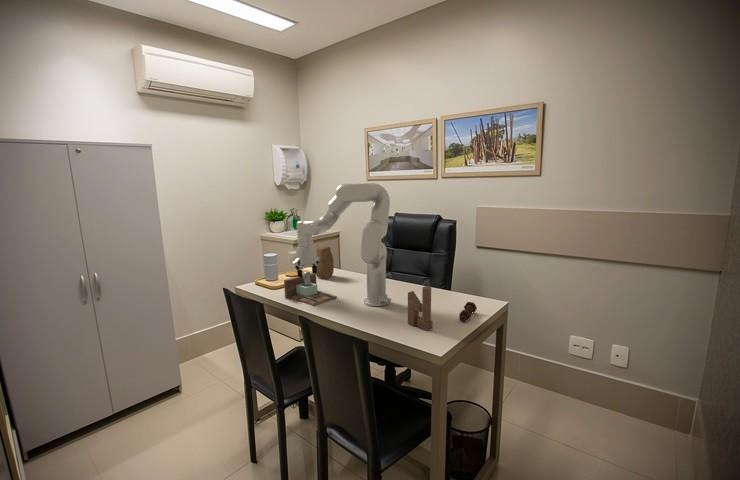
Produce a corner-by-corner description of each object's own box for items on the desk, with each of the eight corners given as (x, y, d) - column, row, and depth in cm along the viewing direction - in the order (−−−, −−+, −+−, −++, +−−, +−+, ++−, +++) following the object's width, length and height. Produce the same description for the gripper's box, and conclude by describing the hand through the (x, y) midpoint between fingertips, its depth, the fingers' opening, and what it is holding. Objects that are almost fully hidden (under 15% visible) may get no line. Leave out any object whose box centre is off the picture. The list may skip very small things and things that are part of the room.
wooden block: (412, 321, 156) (413, 282, 154) (432, 328, 149) (433, 287, 146) (407, 324, 154) (407, 283, 151) (427, 331, 146) (428, 289, 143)
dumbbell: (460, 326, 155) (469, 314, 168) (470, 323, 153) (478, 311, 166) (454, 314, 156) (463, 303, 168) (464, 311, 153) (472, 299, 166)
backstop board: (339, 297, 192) (339, 278, 190) (309, 306, 177) (309, 287, 175) (311, 288, 208) (310, 271, 206) (281, 296, 193) (281, 279, 191)
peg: (311, 293, 194) (310, 272, 192) (306, 295, 192) (305, 273, 190) (308, 292, 197) (307, 271, 195) (302, 294, 194) (301, 272, 192)
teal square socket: (317, 293, 194) (317, 284, 194) (305, 297, 188) (305, 287, 188) (308, 290, 200) (308, 281, 199) (296, 294, 194) (296, 285, 193)
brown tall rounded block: (323, 280, 226) (322, 248, 223) (315, 278, 230) (314, 247, 227) (335, 276, 234) (334, 246, 231) (327, 274, 239) (326, 245, 236)
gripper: (313, 241, 198) (315, 271, 201) (287, 245, 186) (290, 277, 188) (322, 242, 193) (324, 272, 196) (296, 246, 181) (298, 279, 183)
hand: (307, 275), depth 192 cm, fingers open, 9 cm apart
